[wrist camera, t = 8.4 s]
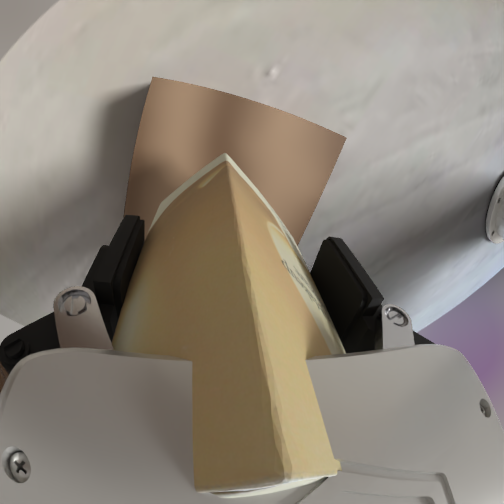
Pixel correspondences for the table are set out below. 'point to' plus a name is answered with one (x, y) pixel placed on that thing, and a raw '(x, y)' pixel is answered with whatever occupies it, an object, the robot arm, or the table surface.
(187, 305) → the skincare box
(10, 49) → the table surface
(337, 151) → the walnut block
